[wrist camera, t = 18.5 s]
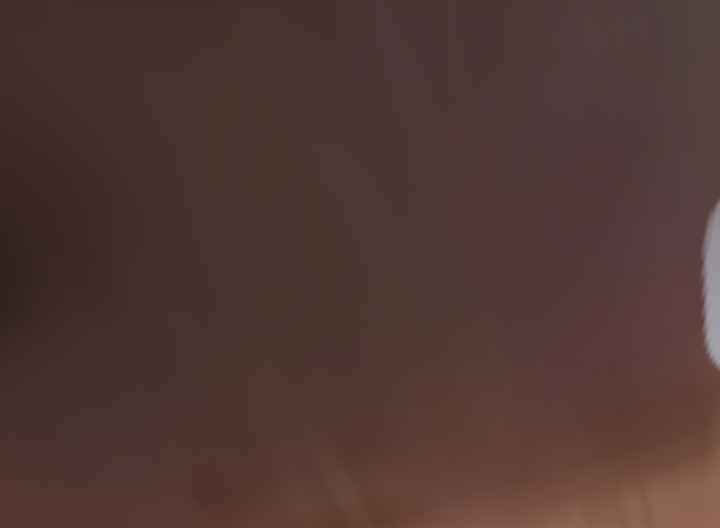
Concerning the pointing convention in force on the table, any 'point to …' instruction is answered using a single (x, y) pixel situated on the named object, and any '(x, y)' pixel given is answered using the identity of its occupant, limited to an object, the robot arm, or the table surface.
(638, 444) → the table surface
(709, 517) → the table surface
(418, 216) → the table surface
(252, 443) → the table surface
